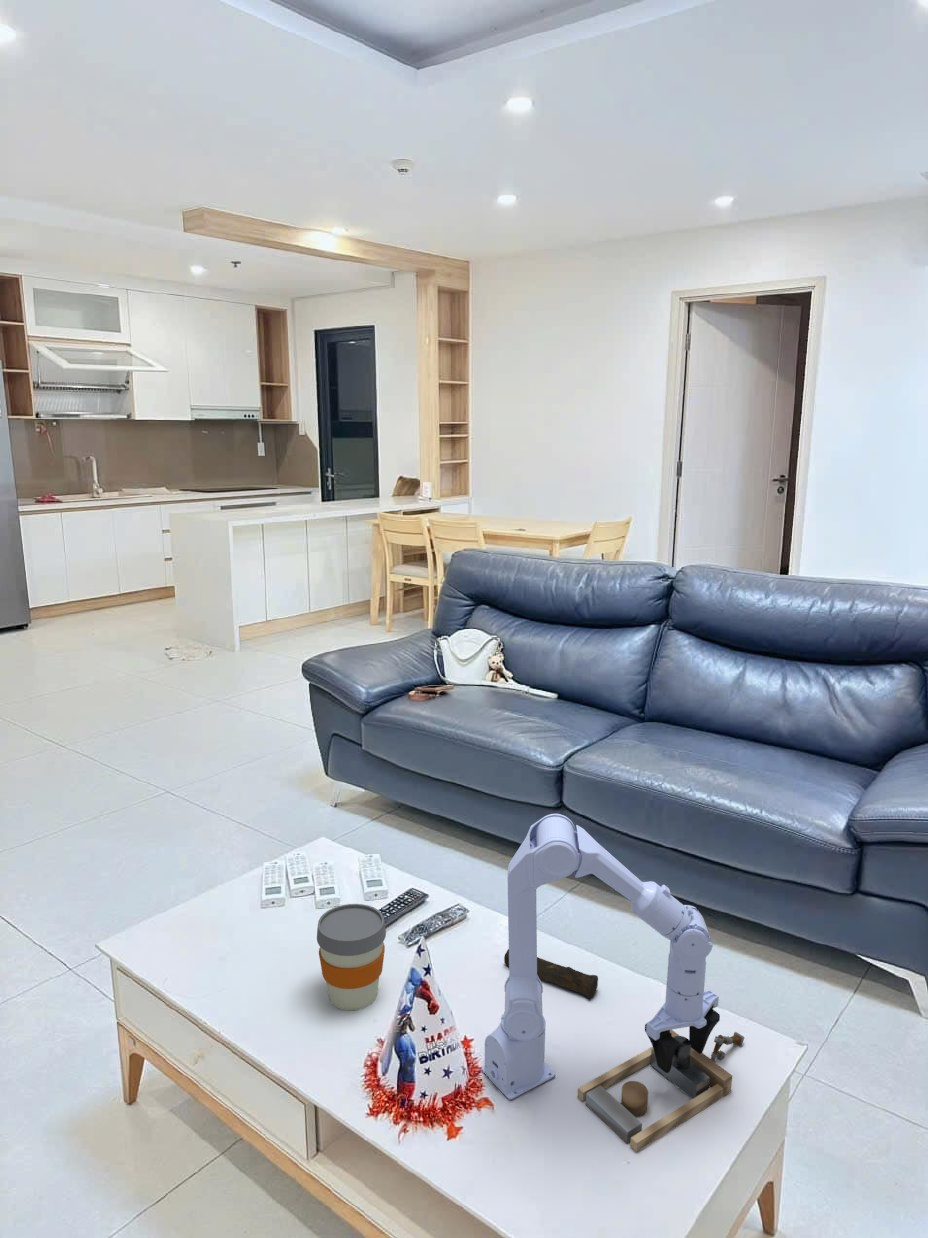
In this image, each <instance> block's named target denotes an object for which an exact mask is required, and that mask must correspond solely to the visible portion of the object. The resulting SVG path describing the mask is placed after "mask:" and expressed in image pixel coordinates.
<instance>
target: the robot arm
mask: <svg viewBox="0 0 928 1238" xmlns="http://www.w3.org/2000/svg"><path fill="white" fill-rule="evenodd" d="M575 826H576V827H575ZM572 874H574V878H576V879H579V878H581V877H584V876H588V875H594V876H595V877H596V878H598V879H599V880H601V882H602V881H603V883H605V884H606V885H608V886H609V887H611V888H612V889H613V890H615V891H616V892H618V893H619V894H621V895H622V896H623V897H625V898H626V899H628V900H629V901H630V909H631V912H632V913H633V914H634V915H635V916H637V917H638V918H639V919H641V920H642V921H643V922H645V923H646V924H647V925H648V926H649V927H650V928H652V929H653V930H655V931H656V932H657V933H658V934H660V935H661V936H662V937H664V938H665V939H667V940H669V953H668V958H667V959H668V960H667V974H666V975H667V976H666V988H665V989H666V990H665V1002H664V1003H663V1004H662V1005H661V1007H660V1009H659V1010H658V1011H657V1012H656V1014H655V1015H654V1017H653V1018H652V1019H650V1020H649V1021H648V1022H646V1023H645V1024H644V1032H645V1034H646V1036H647V1037H648V1039H649V1040H650V1042H651V1047H653V1049H654V1052H655V1056H656V1061H657V1066H658V1067H659V1068H660V1069H662V1070H663V1071H664V1072H665V1073H668V1072H670V1070H671V1066H672V1059H673V1055H674V1051H675V1049H676V1047H677V1045H678V1044H679V1043H680V1042H678V1041H677V1040H676V1039H675V1038H673V1037H672V1033H670V1030H678V1029H683V1028H689V1029H688V1032H689V1034H688V1035H689V1037H688V1039H689V1040H690V1042H691V1048H692V1049H694V1050H695V1051H696V1052H698V1053H699V1054H701V1053H703V1052H704V1049H705V1047H706V1045H707V1043H708V1042H707V1041H708V1039H709V1037H710V1035H711V1033H712V1031H713V1030H714V1028H715V1027H716V1026H717V1024H718V1023H719V1022H720V1020H721V1019H720V1017H721V1015H720V1013H719V1012H717V1010H714V1009H716V1008H718V1007H719V1000H720V999H719V998H720V996H719V995H718V994H717V993H715V992H714V991H712V990H710V989H708V990H706V991H705V983H706V968H707V961H706V958H707V957H708V956H709V955H710V953H711V952H712V951H713V950H712V949H713V943H712V940H711V935H710V932H709V931H708V926H707V924H706V922H705V919H704V916H703V915H702V914H701V912H700V911H699V910H698V909H697V907H695V906H693V905H690V904H683V903H682V902H680V901H679V900H678V899H677V898H675V897H674V896H673V895H672V892H671V890H670V888H669V887H668V886H667V885H665V884H661V886H660V885H659V884H658V883H656V882H655V881H651V880H650V881H642V880H641V879H639V878H638V877H637V876H636V875H635V874H633V872H632V871H630V870H629V869H628V868H627V867H626V866H624V864H623V863H621V861H619V860H618V859H617V858H616V857H614V856H613V855H612V854H611V853H610V852H609V851H607V850H606V848H604V847H603V845H601V844H600V843H598V842H597V840H595V839H594V837H592V835H590V834H589V833H588V831H586V830H585V828H583V827H581V826H579V825H577V824H576V825H575V824H574V823H573V821H572V820H571V819H570V818H568V817H567V816H566V815H563V814H560V813H551V814H547V815H545V816H543V817H541V818H540V819H538V820H537V821H536V822H534V823H533V824H532V825H530V827H529V829H528V832H527V834H526V836H525V838H524V840H523V842H522V843H521V844H520V846H519V848H518V849H517V851H516V852H515V853H514V856H513V857H512V858H511V860H510V862H509V863H508V866H507V916H508V918H507V919H508V949H509V967H508V973H509V974H508V977H507V978H506V980H505V983H504V1011H503V1014H501V1017H500V1023H499V1025H498V1026H497V1027H496V1028H495V1029H494V1031H492V1032H491V1033H489V1034H488V1035H487V1036H486V1038H485V1040H484V1065H483V1066H481V1071H482V1070H483V1071H482V1073H483V1074H484V1073H485V1074H486V1075H485V1074H484V1075H485V1076H486V1077H487V1076H488V1077H489V1078H488V1077H487V1078H488V1079H489V1080H490V1081H491V1083H493V1084H494V1085H495V1086H496V1088H498V1089H499V1091H500V1092H501V1093H502V1094H503V1095H504V1096H505V1097H506V1099H508V1100H513V1099H515V1098H518V1097H519V1096H521V1095H523V1094H525V1093H526V1092H528V1091H530V1090H532V1089H534V1088H537V1086H539V1085H542V1084H543V1083H545V1082H547V1081H549V1080H551V1079H553V1078H554V1077H556V1072H555V1071H554V1070H553V1069H552V1068H551V1067H550V1066H549V1065H548V1064H547V1063H546V1062H545V1057H546V1055H545V1052H546V1019H545V1017H544V1015H543V990H544V987H543V983H542V981H541V978H539V977H538V975H537V957H538V945H537V944H538V943H537V941H538V937H537V936H538V932H537V929H538V928H537V925H538V923H537V922H538V921H537V920H538V919H537V917H538V916H537V889H538V888H540V887H541V886H543V885H546V884H549V883H553V882H555V881H559V880H561V879H564V878H567V877H570V876H571V875H572Z"/></svg>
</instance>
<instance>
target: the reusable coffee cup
mask: <svg viewBox="0 0 928 1238" xmlns="http://www.w3.org/2000/svg"><path fill="white" fill-rule="evenodd" d="M386 937H387V929H386V921H385V917H384V915H383V913H382V912H381V911H380V910H379V909H377V908H376V907H374V906H371V905H368V904H362V903H347V904H342V905H337V906H334V907H332V908H330V909H328V910H327V911H325V912H324V913H322V915H320V917H319V920H318V922H317V930H316V941H317V944H318V946H319V949H318V957H319V962H320V966H321V967H320V969H321V974H322V978H323V980H324V981H325V984H326V986H327V987H326V988H327V994H328V999H329V1003H331V1004H332V1006H334V1007H336V1008H338V1009H341V1010H346V1011H355V1010H356V1011H357V1010H361V1009H364V1008H366V1007H368V1006H370V1005H371V1004H372V1003H374V1001H375V1000H376V998H377V997H378V989H379V981H380V977H381V975H382V972H383V968H384V959H385V951H386V949H385V948H386V946H385V943H384V941H385V939H386Z"/></svg>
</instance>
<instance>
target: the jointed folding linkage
mask: <svg viewBox="0 0 928 1238" xmlns="http://www.w3.org/2000/svg"><path fill="white" fill-rule="evenodd" d="M744 1040H745V1036H744V1035H742V1034H740V1033H739V1032H737V1031H734V1033H733V1035H732V1036H729V1035H728V1036H723V1035H722V1034H719V1035H718V1036H716V1035H715V1037H714V1041H713V1042H714V1043H715V1044H714V1048H713V1051H712V1052H711V1054H710V1059H711V1060H713V1061H714V1062H715V1063H716V1059H719V1060H721V1059H724V1058H725V1055H726V1052H724V1051H723V1050H720V1048H721V1047H723V1045H724V1044H725V1045H726V1046H728V1045H732V1044H735V1045H736V1046H738V1047H739V1048H741V1047H742V1046H743V1044H744Z"/></svg>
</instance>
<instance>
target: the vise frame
mask: <svg viewBox="0 0 928 1238" xmlns="http://www.w3.org/2000/svg"><path fill="white" fill-rule="evenodd" d="M670 1033H672V1037H675V1036H681V1035H679V1034H678V1033H677V1032H676V1031H674V1029H672V1030H670ZM652 1048H653V1046H651V1047H650V1048H648V1049H645V1050H644V1051H642V1052H640V1053H638V1054H637V1055H635V1056H633V1057H631V1058H630V1059H628V1060H625V1061H624V1062H622V1063H620V1064H618V1065H617V1066H615V1067H613V1068H612V1069H610V1070H608V1071H606V1072H604V1073H603V1074H600V1075H599V1076H597V1077H595V1078H594V1079H592V1080H590V1081H588V1082H586V1083H584V1084H583V1085H581V1086H579V1087H577V1098H578V1097H579V1098H580V1099H581V1102H584V1101H585V1105H586V1107H587V1108H589V1109H590V1110H591V1111H592V1112H593V1113H594V1114H595V1115H596V1116H597V1117H598V1118H599V1119H600V1120H601V1121H602V1122H604V1123H605V1125H607V1127H608V1128H610V1129H611V1130H612V1131H613V1132H614V1133H615V1134H616V1135H617V1136H618V1137H619V1138H620V1139H621V1140H623V1142H625V1144H628V1143H630V1146H629V1147H630V1148H631V1149H632V1150H633V1151H634V1152H635V1153H637V1152H640V1150H642V1149H644V1148H645V1147H647V1146H648V1145H650V1144H652V1143H653V1142H655V1141H656V1140H658V1139H659V1138H662V1137H663V1136H665V1134H667V1133H669V1132H670V1131H672V1130H673V1129H675V1128H677V1127H679V1126H680V1125H681V1124H683V1123H684V1122H686V1121H688V1120H689V1119H691V1118H692V1117H694V1116H695V1115H697V1114H699V1113H700V1112H702V1111H703V1110H705V1109H707V1108H708V1107H710V1106H711V1105H713V1104H714V1103H716V1102H718V1101H719V1100H720V1099H723V1098H724V1097H725V1096H727V1095H728V1094H730V1093H731V1092H732V1086H733V1085H732V1084H733V1075H732V1074H731V1073H730V1072H728V1071H727V1070H725V1069H724V1068H723V1067H721V1065H719V1064H718V1063H716V1061H715V1062H714V1061H713V1060H711V1057H708V1056H707V1055H706V1054H704V1053H703V1052H702V1053H701V1054H699V1053H698V1052H696V1051H695V1050H694V1049H692V1048H691V1051H690V1062H691V1063H692V1064H693V1065H695V1066H696V1067H697V1068H698V1069H700V1070H701V1071H702V1072H704V1073H705V1074H706V1075H707V1076H709V1077H710V1080H709V1089H708V1090H706V1091H705V1092H703V1093H702V1094H700V1095H698V1096H697V1097H695V1098H694V1099H692V1098H691V1100H689V1101H687V1102H685V1103H684V1104H683V1105H681V1106H680V1107H677V1108H676V1109H674V1110H672V1111H671V1112H670V1113H668V1114H666V1115H665V1116H662V1117H661V1118H660V1119H659V1120H657V1121H655V1122H654V1123H652V1124H650V1125H649V1126H647V1127H646V1128H644V1129H643V1127H642V1126H643V1123H642V1121H640V1120H639V1119H638V1118H637V1117H635V1116H634V1115H632V1114H631V1113H630V1112H629V1111H628V1110H627V1109H626V1108H625V1107H624V1106H623V1105H621V1103H620V1102H619V1101H618V1100H617V1099H616V1098H615V1097H614V1096H612V1095H611V1093H610V1092H608V1091H607V1090H606V1089H607V1088H609V1087H611V1086H613V1085H615V1084H616V1083H618V1082H620V1081H621V1079H622V1080H623V1079H625V1078H626V1077H629V1076H631V1075H632V1074H634V1073H636V1072H637V1071H639V1070H641V1069H642V1068H644V1067H646V1066H648V1065H650V1063H651V1049H652ZM619 1080H620V1081H619ZM614 1083H615V1084H614ZM579 1098H578V1099H579ZM580 1099H579V1100H580Z"/></svg>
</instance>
